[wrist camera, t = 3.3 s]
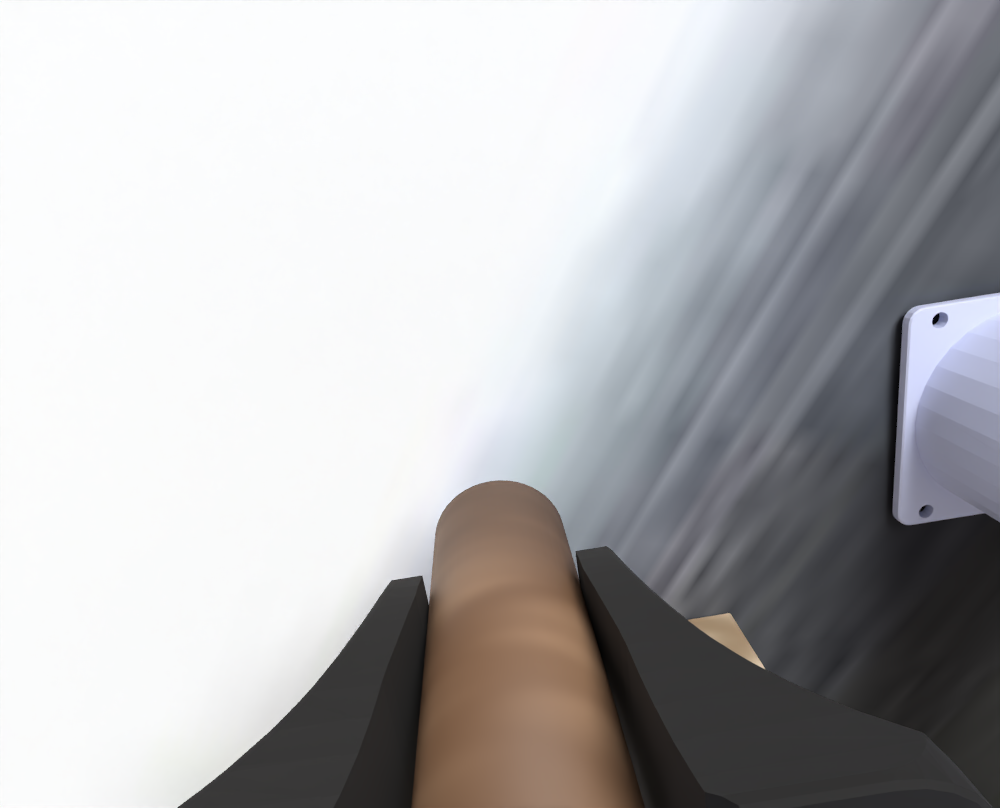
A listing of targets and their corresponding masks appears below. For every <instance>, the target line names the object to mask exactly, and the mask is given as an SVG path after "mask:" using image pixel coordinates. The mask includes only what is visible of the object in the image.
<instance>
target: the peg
mask: <svg viewBox="0 0 1000 808" xmlns="http://www.w3.org/2000/svg"><path fill="white" fill-rule="evenodd" d="M411 808H645V805H644V802H643V798H642V795H641V792H640V788H639V785H638V781H637V778H636V774H635V771H634V768H633V764H632V761H631V757H630V754H629V750H628V747H627V743H626V740H625V737H624V733H623V730H622V726H621V723H620V719H619V716H618V712H617V709H616V706H615V702H614V699H613V695H612V692H611V688H610V685H609V681H608V678H607V675H606V671H605V668H604V664H603V661H602V657H601V654H600V651H599V647H598V644H597V640H596V637H595V633H594V630H593V626H592V623H591V620H590V617H589V614H588V610H587V607H586V603H585V600H584V596H583V593H582V590H581V586H580V582H579V578H578V575H577V571H576V568H575V564H574V561H573V558H572V554H571V551H570V547H569V544H568V540H567V537H566V534H565V530H564V527H563V523H562V520H561V518H560V515H559V513H558V511H557V509H556V508H555V506H554V505H553V504H552V502H551V501H550V500H549V499H548V498H547V497H546V496H544V495H543V494H542V493H541V492H539V491H537V490H536V489H534V488H532V487H530V486H527V485H525V484H522V483H518V482H513V481H490V482H485V483H481V484H478V485H475V486H473V487H471V488H469V489H467V490H465V491H463V492H462V493H460V494H459V495H458V496H456V497H455V498H454V499H453V500H452V501H451V502H450V503H449V504H448V505H447V507H446V508H445V510H444V511H443V513H442V515H441V517H440V519H439V521H438V524H437V528H436V534H435V545H434V556H433V567H432V579H431V590H430V601H429V613H428V624H427V635H426V646H425V658H424V669H423V680H422V692H421V703H420V714H419V726H418V737H417V748H416V759H415V771H414V782H413V793H412V805H411Z"/></svg>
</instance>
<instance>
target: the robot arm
mask: <svg viewBox="0 0 1000 808" xmlns="http://www.w3.org/2000/svg"><path fill="white" fill-rule="evenodd" d="M937 313H939V316H940V317H939V320H938V322H937V323H936V324H935V325H933V324H932V320H933V317H934V316H935V315H936V314H937ZM925 505H926V506H925ZM923 506H925V509H924V510H923V511H921V512H919V510H920V509H921V508H922V507H923ZM892 511H893V516H894V517H895V519H897V520H898V521H899V522H900V523H902V524H904V525H914V524H921V523H927V522H933V521H939V520H946V519H952V518H958V517H964V516H971V515H977V514H983V513H985V514H987V515H989V516H990V517H992V518H994V519H995V520H997V521H998V522H1000V293H995V294H988V295H982V296H976V297H970V298H963V299H957V300H951V301H945V302H938V303H932V304H926V305H920V306H916V307H913V308H912V309H910V310H909V311H908V312H907V313H906V315H905V316H904V319H903V324H902V343H901V362H900V380H899V399H898V417H897V436H896V454H895V473H894V492H893V510H892ZM576 558H577V566H578V574H579V581H580V586H581V590H582V593H583V596H584V600H585V603H586V607H587V610H588V614H589V617H590V620H591V623H592V626H593V630H594V633H595V637H596V640H597V644H598V647H599V651H600V654H601V657H602V661H603V664H604V668H605V671H606V675H607V678H608V681H609V685H610V688H611V692H612V695H613V699H614V702H615V706H616V709H617V712H618V716H619V719H620V723H621V726H622V730H623V733H624V737H625V740H626V743H627V747H628V750H629V754H630V757H631V761H632V764H633V768H634V771H635V774H636V778H637V781H638V785H639V788H640V792H641V795H642V798H643V802H644V805H645V808H993V807H992V806H991V805H990V804H989V802H988V801H987V800H986V799H985V798H984V797H983V795H982V794H981V793H980V792H979V791H978V790H977V788H976V787H975V786H974V785H973V784H972V782H971V781H970V780H969V779H968V778H967V777H966V776H965V774H964V773H963V772H962V771H961V770H960V769H959V768H958V767H957V766H956V764H955V763H954V762H953V761H952V760H951V759H950V758H949V757H948V756H947V755H946V754H945V753H944V752H943V751H942V750H941V749H939V748H938V747H937V746H936V745H935V744H934V743H933V742H932V740H931V739H930V738H929V737H928V736H927V735H926V734H925V733H923V732H920V731H917V730H914V729H911V728H908V727H905V726H902V725H899V724H896V723H893V722H890V721H887V720H884V719H881V718H878V717H875V716H872V715H869V714H866V713H863V712H860V711H857V710H855V709H852V708H849V707H847V706H844V705H842V704H840V703H837V702H835V701H832V700H830V699H827V698H825V697H823V696H820V695H818V694H815V693H813V692H811V691H809V690H806V689H804V688H802V687H800V686H798V685H795V684H793V683H791V682H789V681H787V680H785V679H783V678H781V677H779V676H777V675H775V674H773V673H771V672H769V671H767V670H766V669H764V668H762V667H760V666H758V665H756V664H754V663H752V662H751V661H749V660H747V659H745V658H743V657H742V656H740V655H738V654H737V653H735V652H734V651H732V650H730V649H729V648H727V647H726V646H724V645H722V644H721V643H719V642H718V641H716V640H714V639H713V638H711V637H710V636H709V635H707V634H706V633H704V632H703V631H702V630H700V629H699V628H698V627H696V626H695V625H694V624H692V623H691V622H690V621H688V620H687V619H686V618H684V617H683V616H682V615H681V614H679V613H678V612H677V611H676V610H674V609H673V608H672V607H671V606H670V605H668V604H667V603H666V602H665V601H664V600H663V599H661V598H660V597H659V596H658V595H657V594H656V593H655V592H653V591H652V590H651V589H650V588H649V587H648V586H647V585H646V584H645V583H644V582H642V581H641V580H640V579H639V578H638V577H637V576H636V575H635V574H634V573H633V572H632V571H631V570H630V569H629V568H628V567H627V566H626V565H625V564H624V563H623V562H622V561H621V559H620V558H619V557H618V556H617V555H616V554H615V553H614V552H613V551H612V550H611V549H609V548H608V547H607V546H605V547H599V548H593V549H587V550H580V551H576ZM428 613H429V604H428V599H427V595H426V590H425V586H424V581H423V577H422V576H417V577H411V578H405V579H398V580H392V581H391V582H390V583H389V585H388V586H387V587H386V589H385V590H384V592H383V593H382V594H381V596H380V597H379V599H378V600H377V602H376V603H375V605H374V606H373V608H372V609H371V611H370V612H369V614H368V615H367V617H366V618H365V619H364V621H363V622H362V624H361V625H360V627H359V628H358V629H357V631H356V632H355V634H354V635H353V636H352V638H351V639H350V640H349V642H348V643H347V645H346V646H345V647H344V649H343V650H342V651H341V653H340V654H339V655H338V657H337V658H336V659H335V660H334V662H333V663H332V664H331V665H330V667H329V668H328V669H327V670H326V671H325V673H324V674H323V675H322V676H321V678H320V679H319V680H318V681H317V683H316V684H315V685H314V686H313V687H312V688H311V690H310V691H309V692H308V693H307V694H306V695H305V696H304V697H303V698H302V699H301V701H300V702H299V703H298V704H297V705H296V706H295V707H294V708H293V709H292V710H291V711H290V712H289V713H288V714H287V715H286V716H285V717H284V718H283V719H282V720H281V721H280V722H279V723H278V724H277V725H276V726H275V727H274V728H273V729H272V730H271V731H270V732H269V733H268V734H266V735H265V736H264V737H263V738H262V739H261V740H260V741H259V742H257V743H256V744H255V745H254V746H253V747H252V748H251V749H250V750H248V751H247V752H246V753H245V754H244V755H243V756H242V757H240V758H239V759H238V760H237V761H236V762H235V763H234V764H233V765H231V766H230V767H229V768H228V769H227V770H226V771H224V772H223V773H222V774H221V775H219V776H218V777H217V778H216V779H214V780H213V781H212V782H211V783H209V784H208V785H207V786H205V787H204V788H203V789H202V790H200V791H199V792H198V793H196V794H195V795H194V796H192V797H191V798H190V799H188V800H187V801H186V802H184V803H183V804H182V805H180V806H179V807H178V808H411V805H412V793H413V782H414V771H415V759H416V748H417V737H418V726H419V714H420V703H421V692H422V680H423V669H424V658H425V646H426V635H427V624H428Z"/></svg>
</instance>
